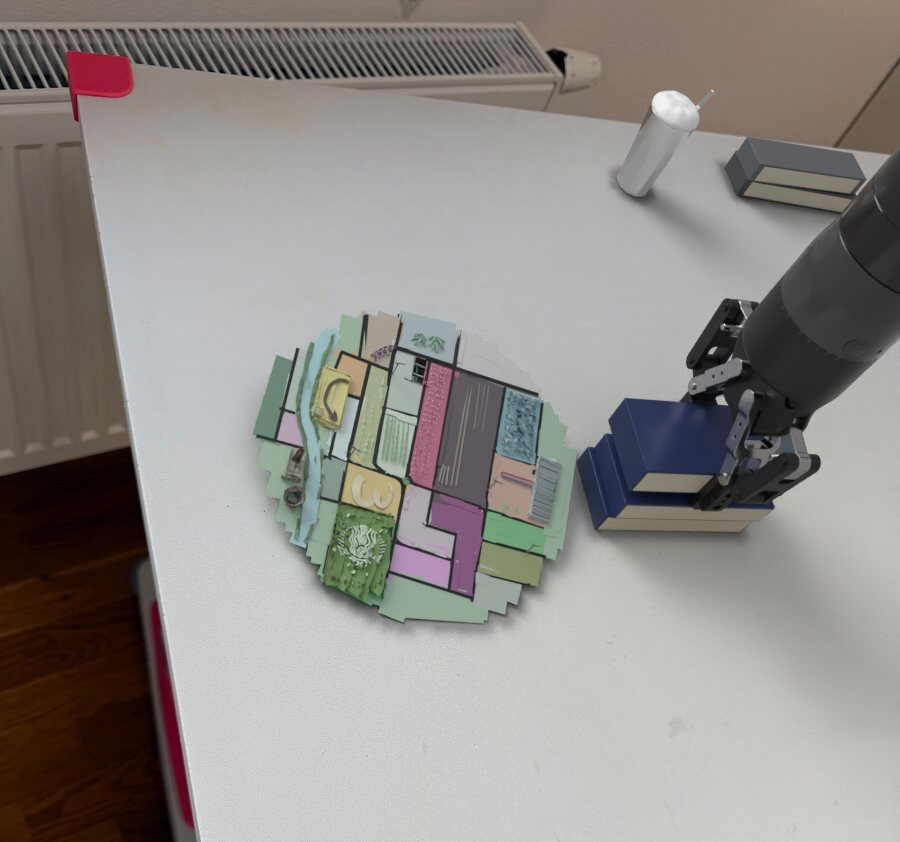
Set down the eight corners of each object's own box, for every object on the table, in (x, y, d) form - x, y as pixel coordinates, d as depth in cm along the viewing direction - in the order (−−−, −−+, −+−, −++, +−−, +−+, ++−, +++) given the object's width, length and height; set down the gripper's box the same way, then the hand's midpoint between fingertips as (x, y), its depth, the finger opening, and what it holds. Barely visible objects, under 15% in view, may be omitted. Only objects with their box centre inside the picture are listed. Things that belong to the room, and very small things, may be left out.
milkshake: (667, 200, 92) (726, 109, 84) (624, 204, 90) (680, 111, 82) (645, 166, 94) (700, 73, 85) (602, 168, 91) (655, 73, 83)
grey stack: (832, 184, 103) (857, 153, 100) (846, 216, 102) (872, 185, 98) (722, 164, 98) (745, 131, 95) (735, 197, 96) (759, 164, 93)
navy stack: (722, 468, 78) (751, 439, 75) (745, 535, 76) (775, 508, 72) (575, 461, 73) (599, 430, 70) (595, 533, 71) (620, 504, 68)
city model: (257, 656, 60) (278, 626, 55) (204, 329, 66) (218, 274, 61) (597, 620, 70) (642, 591, 65) (523, 340, 77) (559, 293, 71)
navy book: (756, 429, 74) (777, 408, 72) (781, 497, 71) (803, 477, 69) (607, 420, 69) (624, 397, 67) (628, 492, 67) (647, 471, 64)
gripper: (932, 411, 55) (760, 552, 70) (847, 225, 61) (704, 390, 75) (829, 403, 53) (671, 552, 67) (750, 209, 59) (620, 384, 73)
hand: (689, 466), depth 71 cm, fingers closed on navy book, 6 cm apart
